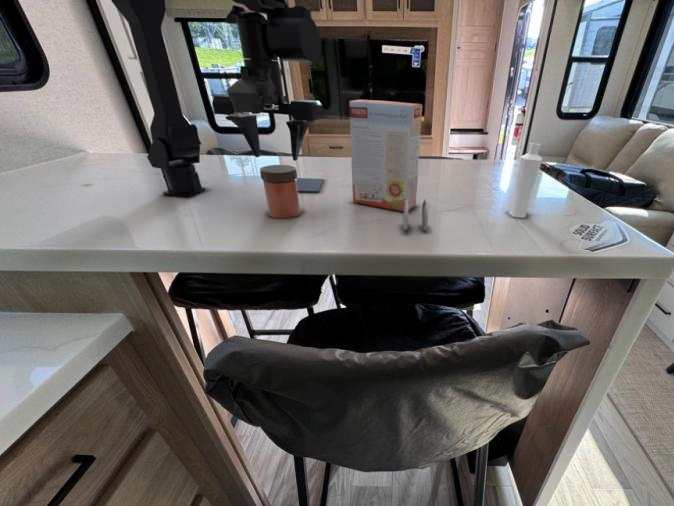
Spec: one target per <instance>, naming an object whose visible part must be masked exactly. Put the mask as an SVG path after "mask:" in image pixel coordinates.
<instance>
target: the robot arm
mask: <svg viewBox="0 0 674 506" xmlns="http://www.w3.org/2000/svg"><path fill="white" fill-rule="evenodd" d="M110 1H111V2H112V4H113V6H114V7H115V8H116V9H117V11H118V12H119V13H120V14H121V16H122V17H123V18H124V20H125V21H126V22H127V24H128V26H129V30H130V33H131V36H132V37H131V38H132V40H133V41H132V42H133V44H134V47H135V51H136V54H137V57H138V61H139V64H140V68H141V71H142V75H143V78H144V82H145V85H146V89H147V92H148V96H149V99H150V103H151V106H152V109H153V116H152V120H151V124H150V127H149V131H150V136H151V141H152V142H151V146H150V148H149V151H148V154H147V156H146V157H147V160H148V162H149V164H150V165H151V167H152V168H155V169H160V171H161V174H162V177H163V180H164V183H165V185H166V188H167V190H164V191H162V194H163V195H165V196H175V197H183V198H189V197H192V196H194V195H197V194H199V193H201V192H205V191H206V187H204V186H203V187H202V183H201V179H200V176H199V173H198V171H196V167H195V164H199V163H200V162H201V155H200V154H201V145H202V142H201V140H200V138H199V132H198V131H199V130H198V127H197V125H196V124H194V123H192V124H191V123H190V121H189V120H188V118H186V117H185V115H184V113H183V110H182V107H181V103H180V98H179V95H178V90H177V87H176V82H175V78H174V74H173V69H172V66H171V61H170V58H169V57H170V56H169V54H168V49H167V46H166V45H167V44H166V40H165V36H164V33H163V29H162V28H163V27H162V26H163V22H164V20H165V16H166V13H167V4H166V0H110ZM231 1H232V2H233V3H235V5H234V4H233V5H232V7H231V10H230V11H229V13H227V14H226V17H225V23H226V24H229V25H235V26H237V31H238V36H239V37H238V38H239V42H240V43H239V44H240V48H241V55H242V58H243V59H242V60H243V66H242V65H240V66H239V67H240V69H239V73H240V79H239V80H236V81H235V82H233V83H232V84H231V86H229V87H228V88H227V89H226V92H227V94H222V95H221V94H220V95H214V96H213V97H212V102H211V106H212V109H213V114H214V115H222V116H223V115H224V118H225V120H226V121H230V122H232V123H233V124H234V125H235V126H237V128H238V129H239V131H240V132H241V134H242V135H243V138H244V139H245V141H246V142H247V145H248V146H249V149H250V150H251V152H252V153H253V155H254V157H255V158H260V157H261V145H260V137H259V136H260V135H259V127H258V126H259V125H258V119H257V115H259V114H271V115H272V114H273V115H286V116H287V115H289V116H290V117H291V120H287V121H285V124H286V126H287V128H288V130H289V138H290V150H291V156H292V160H293V161H294V162H296V161H298V159H299V156H300V152H301V149H302V144H303V141H304V138H305V135H306V132H307V130H308V128H309V125H310V124H314V123H315V122H316V121H319V120H322V119H324V118H325V116H324V113H325V112H324V107H323V104H322V103H321V102H320V100H311V99H296V100H291V101H290V102H289V103H288V95H284V88H283V80H282V76H285V69H284V68H281V64H280V60H281V61H283V62H295V63H296V62H297V63H316V62H318V60H319V58H320V56H321V52H322V37H321V36H320V33H319V29H318V25H317V24H316V22H315V21H314V19H313V18H312V9H311V8H310V7H308V6H305V5H294V6H292V7H290V6H289V4H288V2H287V1H286V0H231ZM236 4H239V5H243V6H244V7H243V6H238V5H236ZM245 8H247V9H248V10H249V11H246V9H245ZM264 15H266V17H265V16H264Z"/></svg>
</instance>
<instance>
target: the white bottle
mask: <svg viewBox="0 0 674 506" xmlns="http://www.w3.org/2000/svg"><path fill="white" fill-rule="evenodd" d="M540 146H541V143H538V142H529V148H528V152H527V153H525V154H523V155H521V156H519V162H518V168H517V175H516V180H515V187H514V191H513V192H514V193H513V199H512V205H511V209H510V210H509V212H508V214H509V215H510V216H512V217H514V218H520V219H521V218H522V219H525V218H526V216H527V208H528V204H529V201H530V198H531V195H532V192H533V189H534V186H535V184H536V179H537V177H538V175H539V170H540V167H541V165H542V162H543V157H542V156H541V155H539V150H540Z"/></svg>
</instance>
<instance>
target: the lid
mask: <svg viewBox="0 0 674 506" xmlns="http://www.w3.org/2000/svg"><path fill="white" fill-rule="evenodd" d="M259 174H260V179H261V180H262V181H263V180H264V181H267V182H289V181H293V180H295V179H297V178H298V171H297V167H296V166H293V165H290V164H270V165H265V166H262V167H260V168H259Z"/></svg>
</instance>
